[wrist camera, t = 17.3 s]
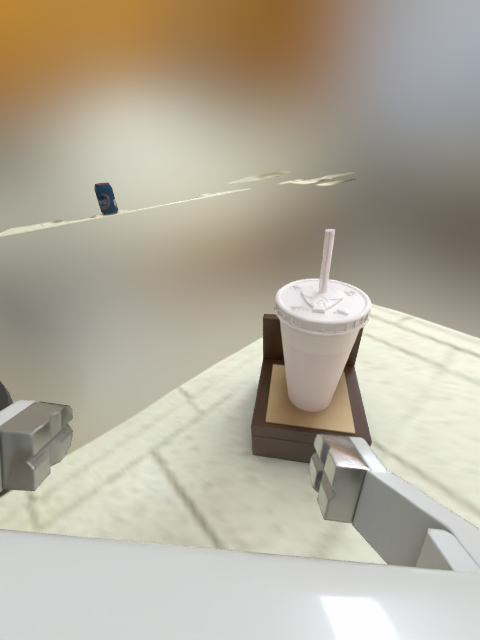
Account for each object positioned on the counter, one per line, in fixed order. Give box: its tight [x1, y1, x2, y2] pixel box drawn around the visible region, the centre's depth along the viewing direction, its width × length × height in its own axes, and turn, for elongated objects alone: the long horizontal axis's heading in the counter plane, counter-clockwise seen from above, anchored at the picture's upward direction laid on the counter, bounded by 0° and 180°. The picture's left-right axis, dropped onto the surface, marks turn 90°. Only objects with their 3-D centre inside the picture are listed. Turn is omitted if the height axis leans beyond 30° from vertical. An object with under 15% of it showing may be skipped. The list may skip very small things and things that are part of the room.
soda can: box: [95, 183, 118, 215], centre depth 118 cm, size 7×7×12 cm
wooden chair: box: [251, 314, 372, 463], centre depth 24 cm, size 9×9×9 cm
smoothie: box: [274, 229, 371, 412], centre depth 20 cm, size 6×6×14 cm
